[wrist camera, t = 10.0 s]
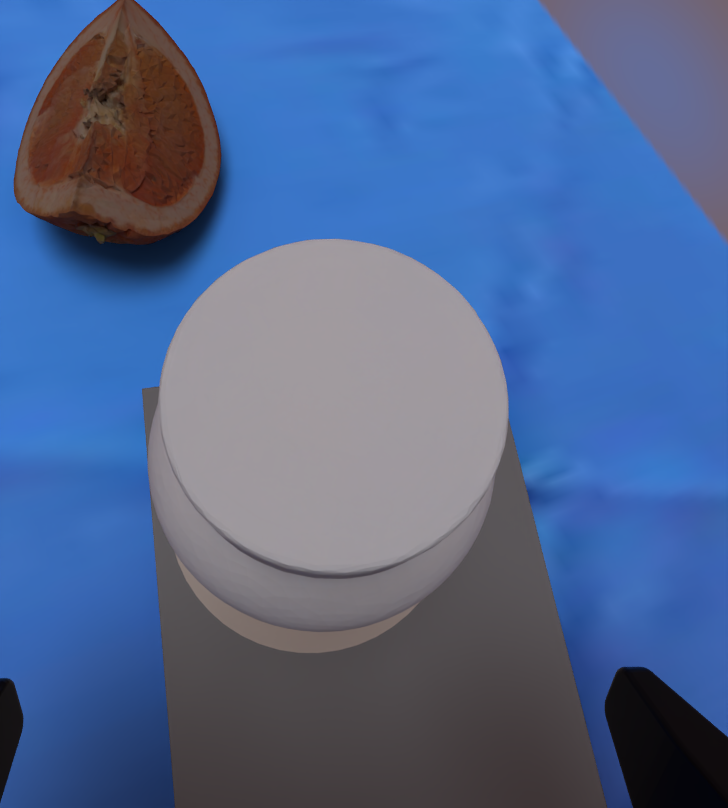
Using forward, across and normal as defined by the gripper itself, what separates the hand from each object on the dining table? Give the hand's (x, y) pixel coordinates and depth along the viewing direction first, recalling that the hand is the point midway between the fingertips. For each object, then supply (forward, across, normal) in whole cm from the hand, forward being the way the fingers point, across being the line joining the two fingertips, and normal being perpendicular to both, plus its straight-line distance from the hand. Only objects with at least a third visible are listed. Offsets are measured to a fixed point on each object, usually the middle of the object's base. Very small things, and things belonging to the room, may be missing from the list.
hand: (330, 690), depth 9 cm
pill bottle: (+10, 0, +4) cm, 10 cm away
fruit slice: (+19, +7, -4) cm, 21 cm away
